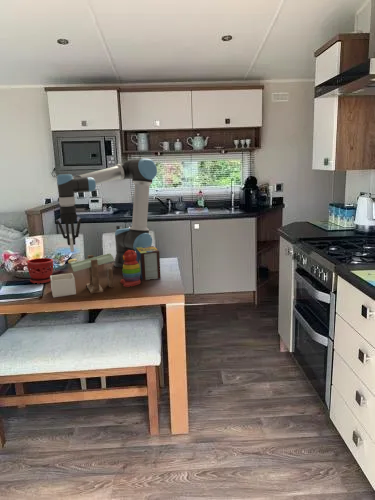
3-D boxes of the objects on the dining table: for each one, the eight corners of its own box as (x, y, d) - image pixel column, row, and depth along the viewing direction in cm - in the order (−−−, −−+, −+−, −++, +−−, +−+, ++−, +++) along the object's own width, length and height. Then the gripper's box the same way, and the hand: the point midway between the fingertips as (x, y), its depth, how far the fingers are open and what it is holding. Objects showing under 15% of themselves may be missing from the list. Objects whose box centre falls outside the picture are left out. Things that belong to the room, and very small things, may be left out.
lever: (107, 255, 205) (106, 249, 204) (114, 262, 189) (113, 256, 188) (68, 265, 198) (67, 259, 198) (72, 274, 182) (70, 267, 181)
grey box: (73, 288, 193) (72, 273, 191) (76, 294, 183) (74, 278, 181) (51, 291, 189) (50, 275, 187) (52, 297, 179) (51, 281, 178)
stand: (109, 282, 202) (107, 252, 198) (115, 290, 188) (113, 258, 185) (86, 285, 197) (84, 255, 194) (90, 293, 184) (88, 261, 180)
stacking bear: (119, 282, 201) (117, 249, 198) (137, 279, 205) (136, 247, 202) (124, 287, 192) (122, 253, 188) (143, 284, 196) (142, 251, 192)
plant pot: (47, 285, 199) (44, 263, 196) (24, 284, 201) (21, 262, 199) (59, 278, 211) (57, 257, 209) (37, 277, 214) (35, 257, 211)
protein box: (154, 271, 220) (153, 245, 217) (160, 278, 205) (159, 251, 202) (136, 273, 217) (135, 247, 213) (141, 281, 202) (140, 252, 199)
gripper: (79, 203, 196) (84, 248, 202) (53, 205, 192) (58, 251, 197) (81, 205, 190) (86, 251, 195) (54, 207, 185) (59, 254, 190)
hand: (72, 251), depth 196 cm, fingers closed
